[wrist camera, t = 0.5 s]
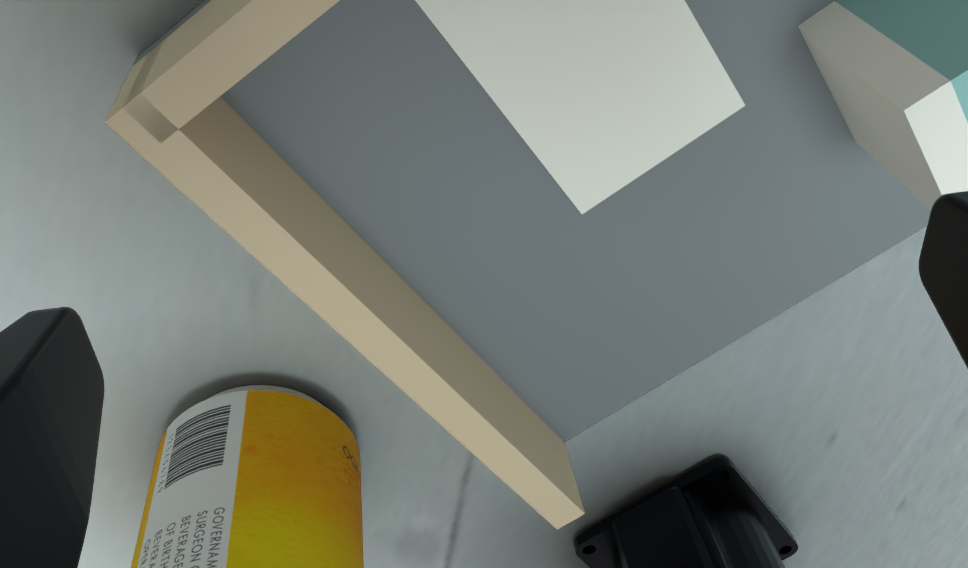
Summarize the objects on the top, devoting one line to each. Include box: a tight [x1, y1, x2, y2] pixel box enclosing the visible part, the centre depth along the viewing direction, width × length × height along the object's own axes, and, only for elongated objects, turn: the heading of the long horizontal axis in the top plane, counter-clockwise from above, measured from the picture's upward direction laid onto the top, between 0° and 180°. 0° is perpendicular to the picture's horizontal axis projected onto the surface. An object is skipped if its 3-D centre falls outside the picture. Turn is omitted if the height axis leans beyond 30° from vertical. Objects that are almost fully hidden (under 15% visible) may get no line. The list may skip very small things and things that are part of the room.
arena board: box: [105, 0, 930, 530], centre depth 21 cm, size 17×20×4 cm
